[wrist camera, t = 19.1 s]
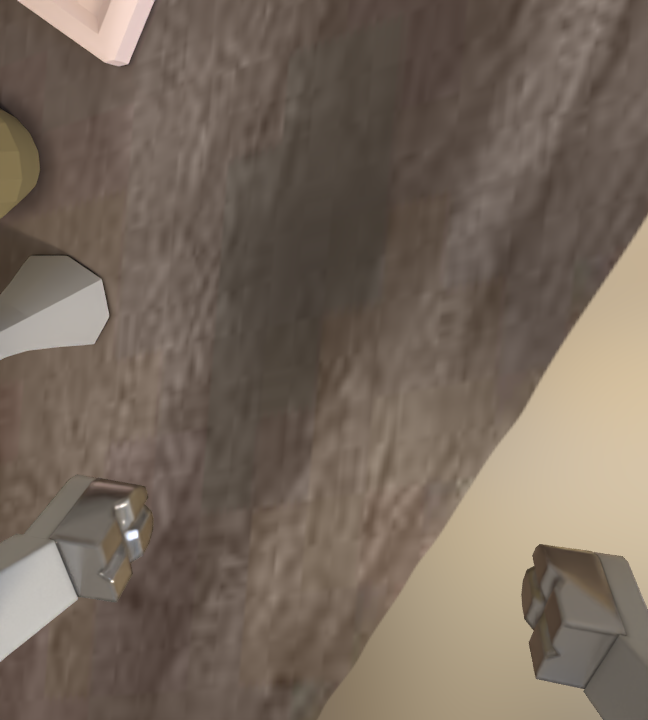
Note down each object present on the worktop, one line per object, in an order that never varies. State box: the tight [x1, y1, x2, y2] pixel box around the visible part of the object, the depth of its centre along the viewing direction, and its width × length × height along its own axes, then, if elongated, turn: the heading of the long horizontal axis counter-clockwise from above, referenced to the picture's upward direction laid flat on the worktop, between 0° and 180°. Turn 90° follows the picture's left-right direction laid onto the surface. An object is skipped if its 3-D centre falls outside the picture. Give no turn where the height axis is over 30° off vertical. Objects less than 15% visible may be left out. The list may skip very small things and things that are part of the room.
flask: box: [0, 256, 109, 360], centre depth 33 cm, size 7×7×10 cm
